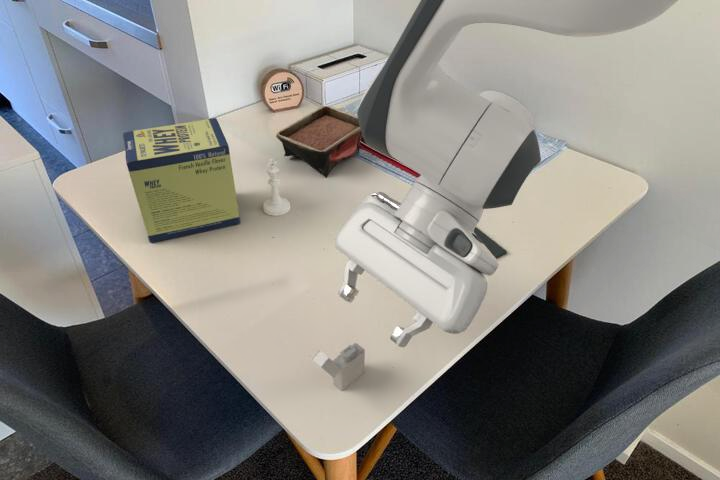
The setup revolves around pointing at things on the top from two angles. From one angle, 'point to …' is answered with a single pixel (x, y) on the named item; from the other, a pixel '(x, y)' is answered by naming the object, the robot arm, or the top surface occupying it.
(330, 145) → the rectangular plant pot
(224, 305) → the top surface
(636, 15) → the robot arm
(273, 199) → the chess piece
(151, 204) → the protein box
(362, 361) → the lighter
